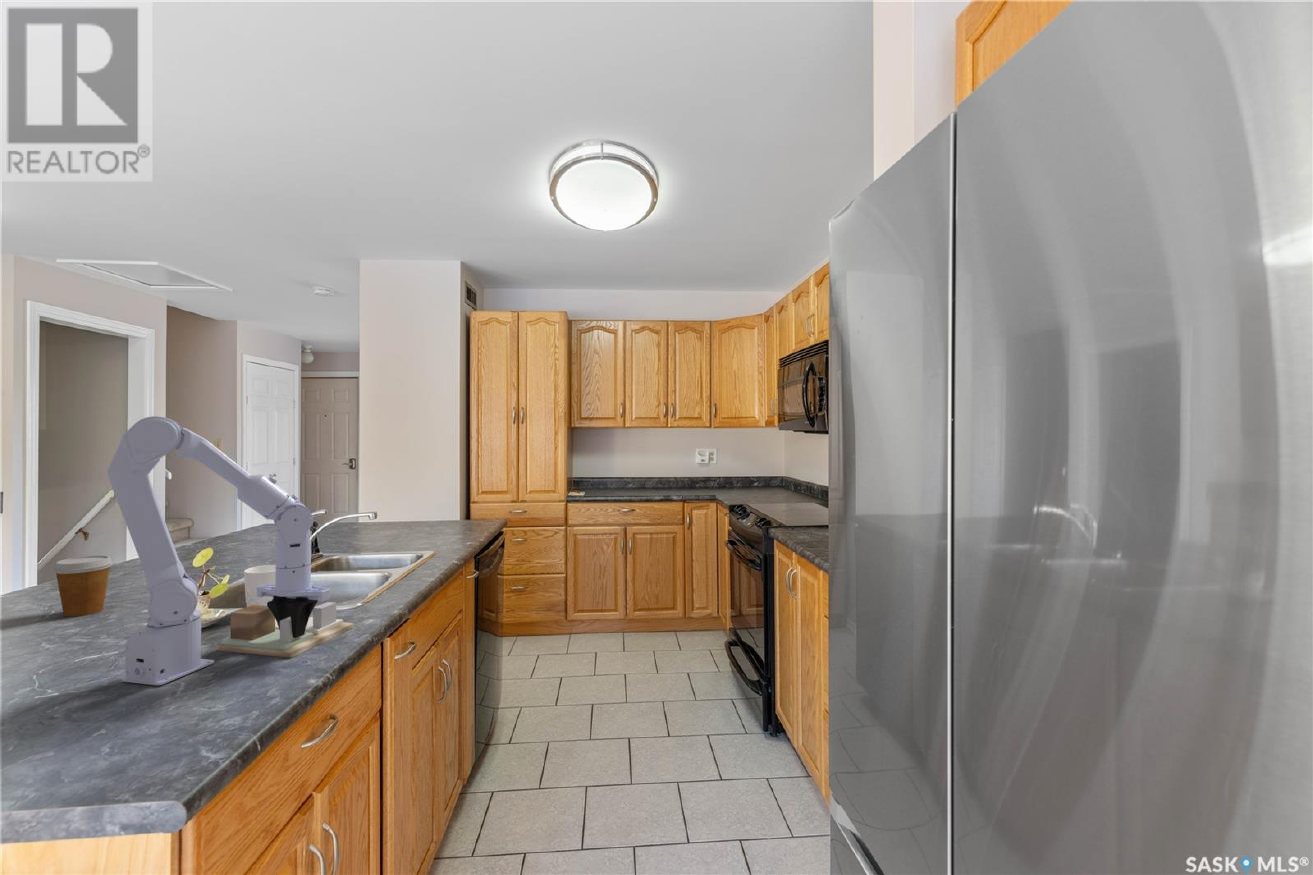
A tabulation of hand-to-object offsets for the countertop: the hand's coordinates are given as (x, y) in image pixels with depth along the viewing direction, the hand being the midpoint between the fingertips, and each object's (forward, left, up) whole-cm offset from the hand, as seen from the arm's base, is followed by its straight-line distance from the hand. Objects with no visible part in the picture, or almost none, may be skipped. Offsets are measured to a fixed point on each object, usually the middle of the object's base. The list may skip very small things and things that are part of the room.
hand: (292, 635), depth 108 cm
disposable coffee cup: (+8, +63, -3) cm, 63 cm away
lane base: (+4, +5, -2) cm, 6 cm away
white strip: (+8, +6, -1) cm, 10 cm away
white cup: (+17, +24, -3) cm, 29 cm away
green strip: (0, +6, -1) cm, 6 cm away
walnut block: (0, +9, -1) cm, 9 cm away
